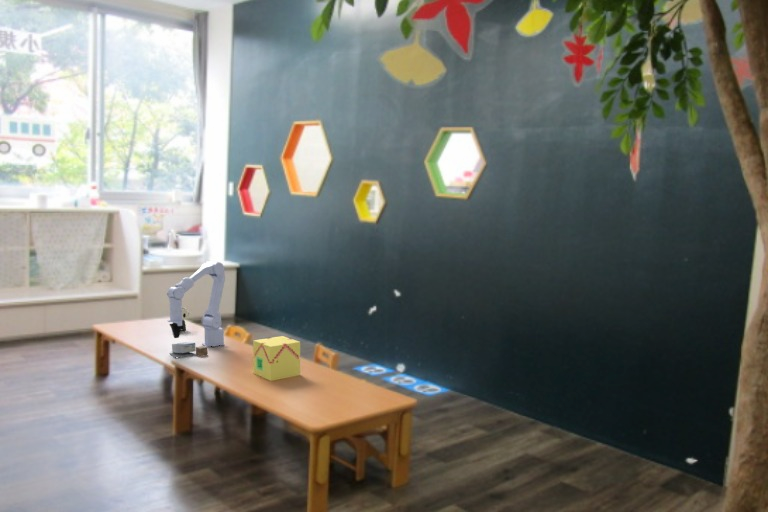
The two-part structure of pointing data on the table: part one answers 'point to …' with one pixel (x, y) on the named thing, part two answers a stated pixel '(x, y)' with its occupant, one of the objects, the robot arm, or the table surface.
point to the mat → (181, 354)
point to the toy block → (276, 358)
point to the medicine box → (183, 347)
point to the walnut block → (201, 350)
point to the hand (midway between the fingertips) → (176, 337)
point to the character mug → (184, 316)
